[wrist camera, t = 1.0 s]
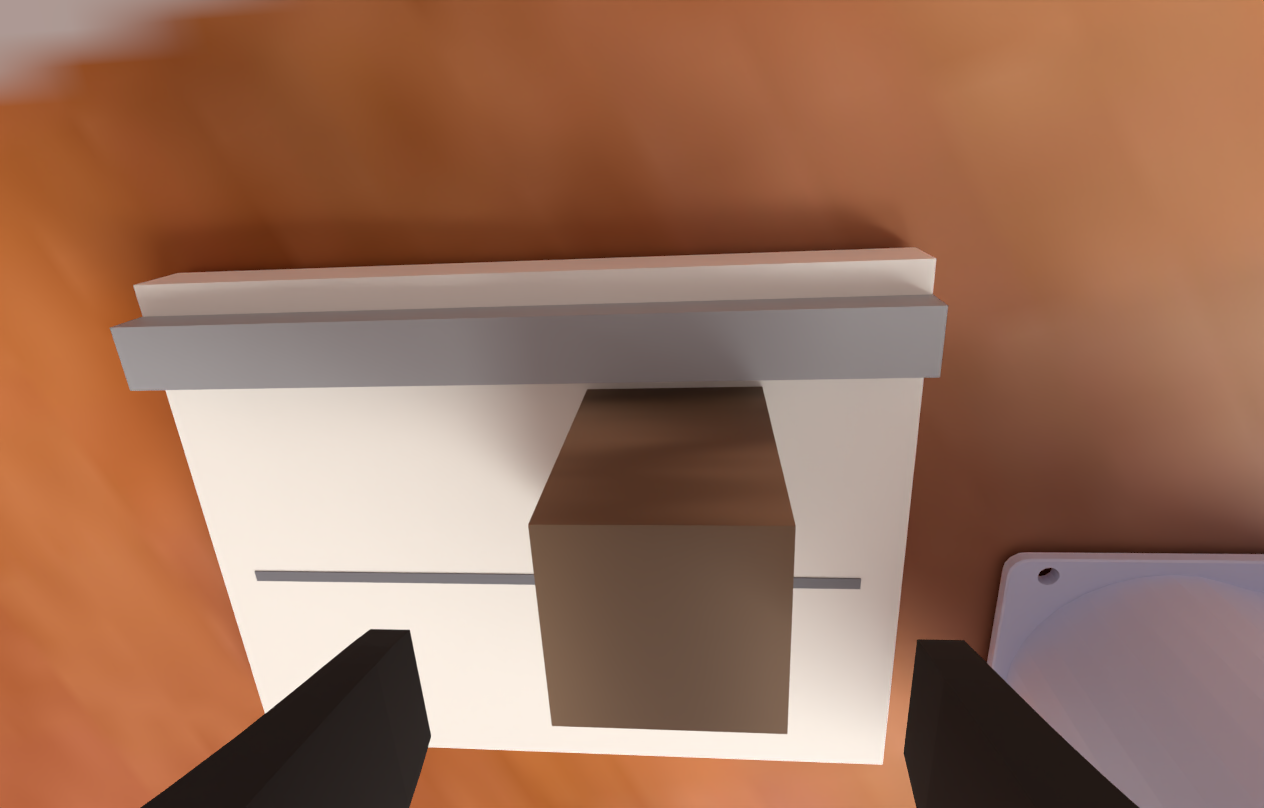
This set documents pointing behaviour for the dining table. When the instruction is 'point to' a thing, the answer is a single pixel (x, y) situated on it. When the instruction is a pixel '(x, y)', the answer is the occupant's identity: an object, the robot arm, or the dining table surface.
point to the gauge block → (667, 564)
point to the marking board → (535, 460)
